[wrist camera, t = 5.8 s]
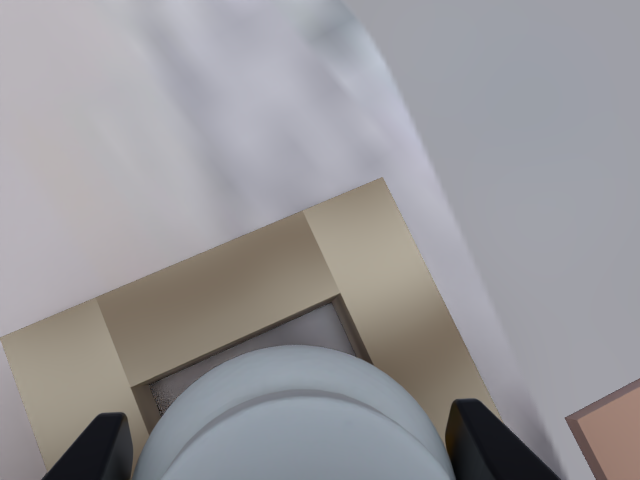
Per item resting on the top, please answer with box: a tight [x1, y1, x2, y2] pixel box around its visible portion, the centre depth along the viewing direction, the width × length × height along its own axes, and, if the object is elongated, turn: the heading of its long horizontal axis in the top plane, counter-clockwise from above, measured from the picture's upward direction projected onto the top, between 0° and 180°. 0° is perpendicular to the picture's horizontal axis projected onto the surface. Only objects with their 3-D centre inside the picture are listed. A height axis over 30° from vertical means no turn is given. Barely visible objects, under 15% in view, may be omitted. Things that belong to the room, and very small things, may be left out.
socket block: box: [0, 177, 503, 480], centre depth 17 cm, size 12×12×2 cm
